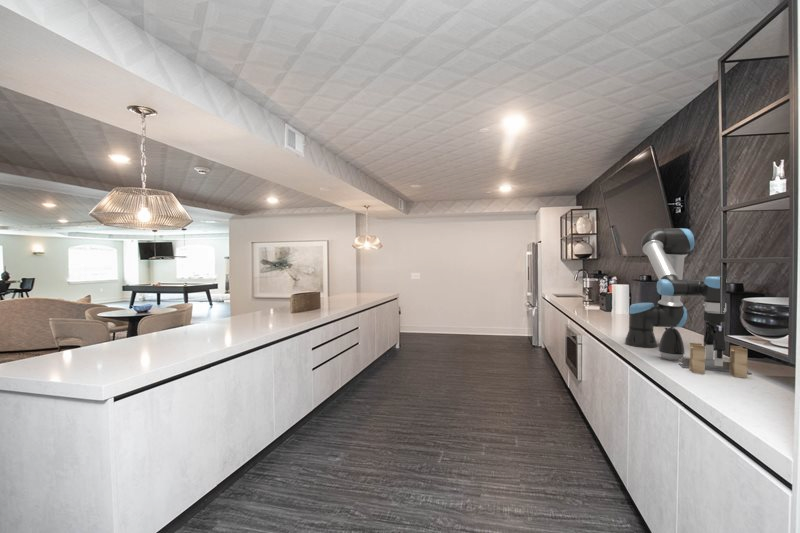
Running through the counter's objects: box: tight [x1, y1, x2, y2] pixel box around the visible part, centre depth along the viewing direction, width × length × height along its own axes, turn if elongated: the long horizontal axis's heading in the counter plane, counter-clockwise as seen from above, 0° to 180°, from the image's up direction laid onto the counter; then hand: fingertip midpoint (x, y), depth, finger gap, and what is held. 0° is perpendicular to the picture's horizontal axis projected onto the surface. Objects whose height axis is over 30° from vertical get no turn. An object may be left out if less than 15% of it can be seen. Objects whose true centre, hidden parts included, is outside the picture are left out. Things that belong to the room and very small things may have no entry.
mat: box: [678, 362, 753, 375], centre depth 175 cm, size 7×24×1 cm, turn 67°
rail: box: [682, 356, 730, 370], centre depth 175 cm, size 3×22×4 cm, turn 67°
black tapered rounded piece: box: [658, 327, 686, 362], centre depth 192 cm, size 10×10×15 cm
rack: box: [689, 342, 749, 379], centre depth 168 cm, size 6×18×12 cm, turn 67°
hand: (713, 362), depth 175 cm, fingers open, 11 cm apart
